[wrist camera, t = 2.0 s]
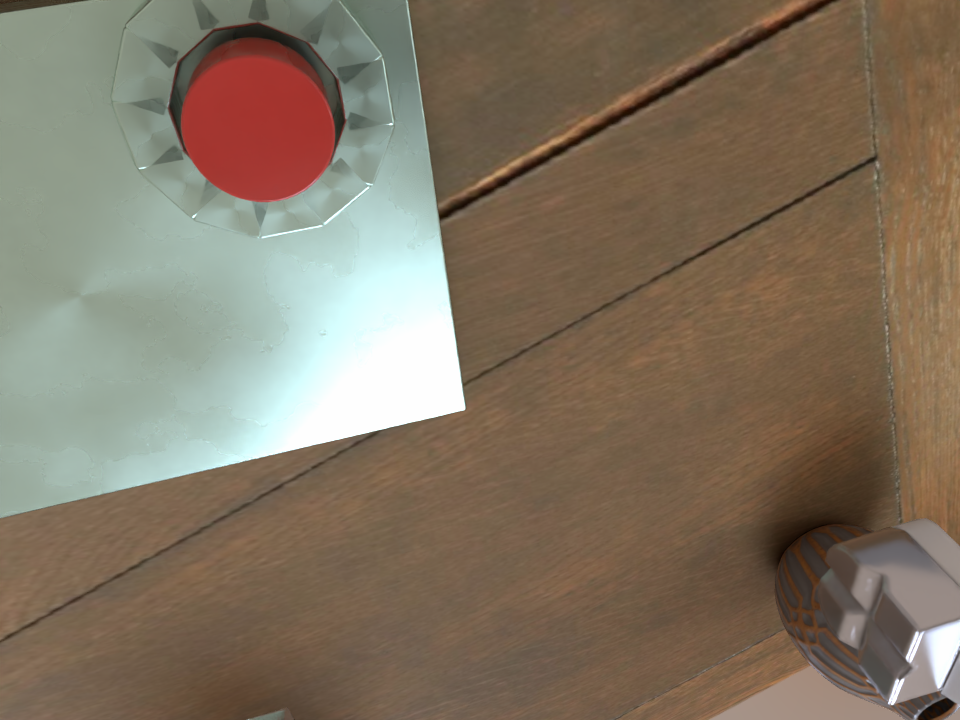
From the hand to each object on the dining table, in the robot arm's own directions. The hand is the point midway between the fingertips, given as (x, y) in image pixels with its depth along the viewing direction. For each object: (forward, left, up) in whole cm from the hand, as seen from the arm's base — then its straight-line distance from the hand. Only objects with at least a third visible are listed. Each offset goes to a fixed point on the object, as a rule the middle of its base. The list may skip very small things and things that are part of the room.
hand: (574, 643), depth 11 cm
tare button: (0, -6, -12) cm, 14 cm away
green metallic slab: (+8, -5, -15) cm, 18 cm away
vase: (-4, +28, -15) cm, 32 cm away
